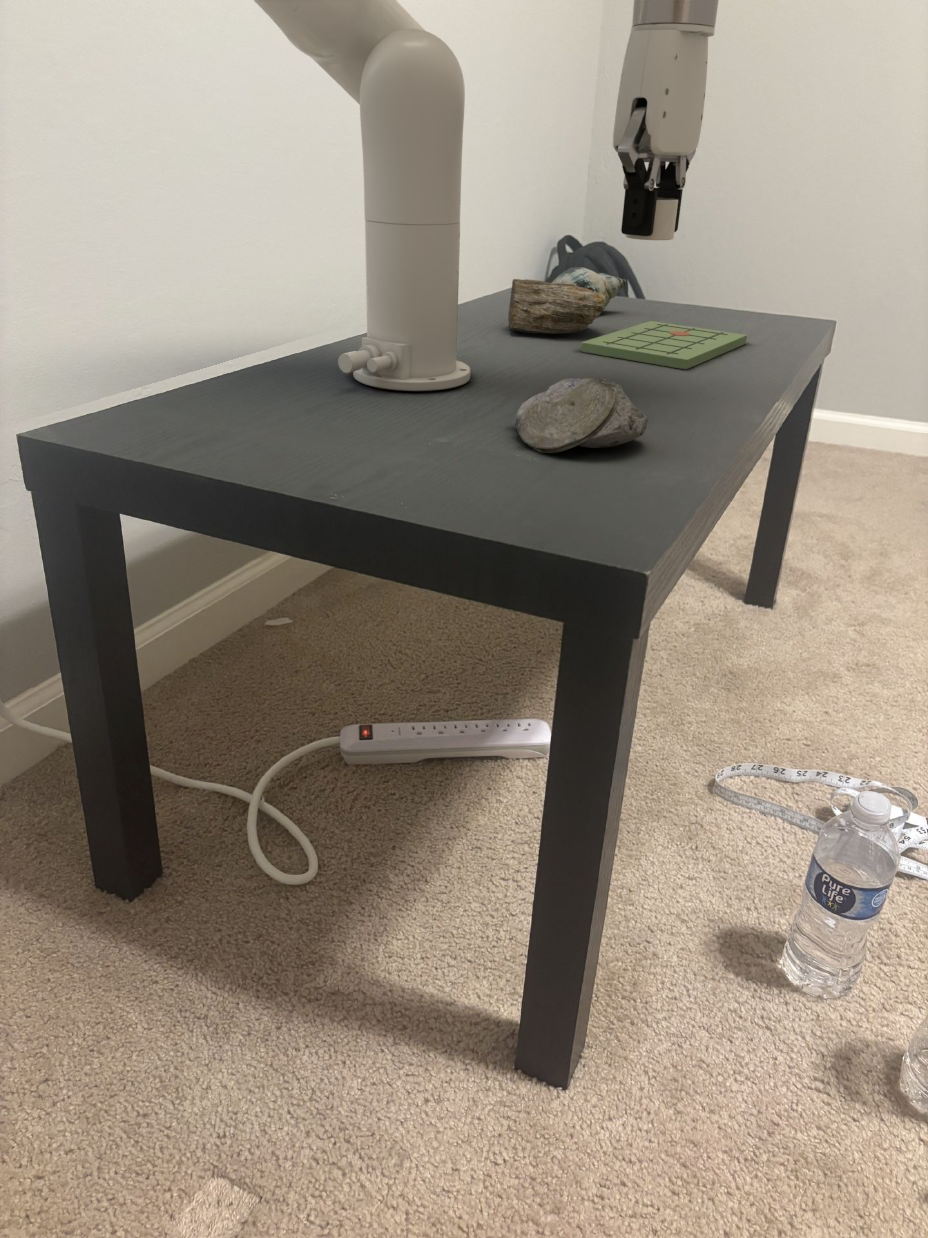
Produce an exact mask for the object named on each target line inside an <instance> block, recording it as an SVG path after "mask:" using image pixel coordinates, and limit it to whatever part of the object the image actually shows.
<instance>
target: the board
mask: <svg viewBox="0 0 928 1238" xmlns="http://www.w3.org/2000/svg"><path fill="white" fill-rule="evenodd" d="M747 337H748V335H747V334H743V333H736V332H729V331H723V330H715V329H711V328H702V327H696V326H689V325H683V324H682V325H681V324H674V323H667V322H661V321H653V320H649V321H645V322H641V323H639V324H636V325H633V326H630V327H626V328H622V329H619V330H617V331H613V332H610V333H607V334H604V335H599V336H597V337H594V338H590V339H588V340H584V341H582V342H581V345H580V352H581V353H586V354H591V355H598V356H602V357H609V358H615V359H619V360H620V359H621V360H627V361H632V362H638V363H643V364H644V363H645V364H650V365H656V366H661V367H662V366H663V367H668V368H672V369H679V370H689V369H691V368H694V367H695V366H698V365H700V364H703V363H705V362H707V361H710V360H711V359H714V358H716V357H719V356H721V355H723V354H726V353H728V352H731V351H732V350H734V349H738V348H739V347H742V346H744V345H746V343H747Z"/></svg>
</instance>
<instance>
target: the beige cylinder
mask: <svg viewBox="0 0 928 1238" xmlns="http://www.w3.org/2000/svg"><path fill="white" fill-rule="evenodd" d="M677 207H678V199H674V198H663V197H657V202H656V210H655V219H654V228H653V234H652V235H651V236H638V235H627V234H624V237H625V238H628V239H632V240H640V241H641V240H642V241H643V240H644V241H671V240H674V237H675V232H674V230H675V222H676V215H677Z"/></svg>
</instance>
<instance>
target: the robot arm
mask: <svg viewBox="0 0 928 1238" xmlns="http://www.w3.org/2000/svg"><path fill="white" fill-rule="evenodd" d="M253 2H254V3H255V4H256V5H257V6H258V7H259V8H260V9H261V10H262V11H263V12H264V13H265V14H266V15H267V16H268V17H269V18H270V20H272V21H273V23H274V24H275V25H276V26H277V27H278V28H279V30H280V31H281V33H283V35H284V36H285V38H286V39H287V40H288V41H289V43H291V45H292V46H294V48H296V49H297V50H298V51H300V52H301V53H303V54H304V55H306V56H308V57H309V58H311V59H312V60H313V61H314V62H315V63H316V64H317V65H318V66H319V67H320V68H321V69H322V70H323V71H324V72H325V73H326V74H327V75H328V76H329V77H330V78H331V79H332V80H334V82H336V84H338V85H339V86H340V87H341V88H342V89H343V90H344V91H345V92H346V93H347V94H348V96H350V97H351V98H352V99H354V101H355V102H356V103H357V104H358V105H359V115H360V116H359V119H360V133H361V135H360V136H361V150H362V151H361V152H362V169H363V170H362V171H363V172H362V173H363V207H364V209H363V210H364V211H363V212H364V231H365V232H364V239H365V240H364V242H365V245H364V246H365V289H366V290H365V294H366V296H365V299H366V302H365V303H366V336H362V337H361V346H360V347H359V348H358V349H357V350H353V351H348V352H344V353H341V354H339V356H338V359H337V364H338V367H339V370H340V371H341V372H342V373H345V374H349V373H352V375H353V378H354V379H355V380H356V381H357V382H358V383H361V384H363V385H366V386H369V387H373V388H376V389H377V388H378V389H383V390H389V391H390V390H391V391H402V392H432V391H442V390H449V389H454V388H457V387H460V386H463V385H465V384H467V383H468V382H469V381H470V379H471V370H472V369H471V367H470V366H469V365H468V364H467V363H465V362H463V361H460V360H457V354H458V351H457V350H458V318H459V317H458V316H459V286H460V284H459V283H460V281H459V280H460V279H459V278H460V251H461V250H460V245H461V206H462V205H461V201H462V200H461V199H462V198H461V197H462V196H461V195H462V163H463V143H464V142H463V141H464V139H463V138H464V137H463V135H464V124H465V123H464V122H465V121H464V120H465V105H466V104H465V102H466V90H465V89H466V88H465V79H464V74H463V70H462V67H461V65H460V62H459V60H458V58H457V56H456V55H455V53H454V52H453V50H452V49H451V48H450V46H448V44H447V43H446V42H445V41H443V40H442V39H441V38H440V37H438V36H437V35H436V34H434V33H431V32H430V31H427V30H425V28H424V27H422V25H421V24H420V23H418V21H417V20H416V19H415V18H414V17H413V16H412V15H411V14H410V13H409V12H408V11H407V10H406V8H404V7H403V6H402V4H401V3H399V1H398V0H253ZM718 8H719V0H633V5H632V17H631V28H630V34H629V38H628V41H627V45H626V49H625V54H624V57H623V63H622V69H621V74H620V82H619V87H618V94H617V100H616V108H615V115H614V124H613V132H612V147H613V149H614V150H615V152H616V153H617V156H618V158H619V160H620V162H621V165H622V166H621V167H622V171H623V174H624V178H623V183H622V185H623V189H624V198H623V208H622V220H621V228H620V230H621V233H622V235H625V234H627V235H638V236H651V235H652V234H653V228H654V219H655V210H656V202H657V197H663V198H674V199H678V207H677V215H676V222H675V230H674V233H676V232H677V231H678V229H679V223H680V215H681V208H682V198H683V189H684V188H685V186H686V181H687V180H686V179H687V172H688V170H689V168H690V163H691V162H692V160H693V158H694V157H695V155H696V151H697V148H698V145H699V142H700V137H701V132H702V125H703V117H704V110H705V101H706V88H707V77H708V57H709V38H711V37H714V36H715V31H716V23H717V15H718ZM645 163H648V164H647V167H646V164H645ZM666 163H668V164H666Z"/></svg>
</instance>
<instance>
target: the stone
mask: <svg viewBox="0 0 928 1238" xmlns="http://www.w3.org/2000/svg"><path fill="white" fill-rule="evenodd" d="M511 282H512V283H511V292H510V298H509V304H508V313H507V314H508V315H507V316H508V317H507V321H508V328H509V330H512V331H515V332H522V333H528V334H548V335H549V334H551V335H558V334H574V333H578V332H580V331H584V330H585V329H587V328H588V327H589V326H590V325H592V324H593V323H594V321H595V320H596V319H598V318H599V317H600V315H602V313H603V312H604V310H605V309H606V307H605V304H606V302H605V296H604V295H603V294H602V293H600V292H595V291H591V290H590V289H587V288H583V287H578V286H576V285H573V284H564V283H555V282H553V281H552V282H553V283H552V282H549V281H548V282H547V281H542V280H537V279H527V278H526V279H521V278H520V279H519V278H513V279H512V281H511Z"/></svg>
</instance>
